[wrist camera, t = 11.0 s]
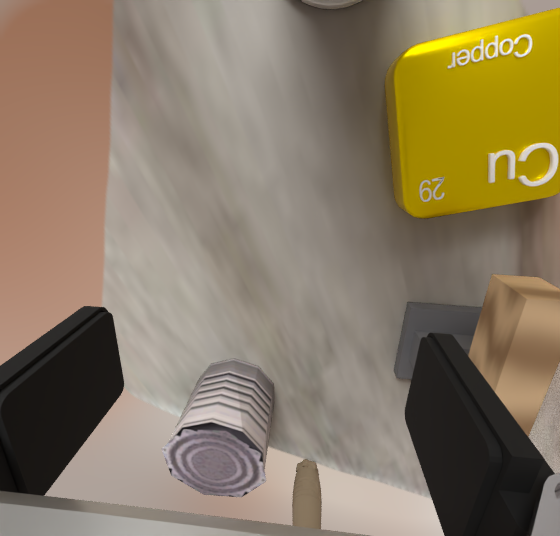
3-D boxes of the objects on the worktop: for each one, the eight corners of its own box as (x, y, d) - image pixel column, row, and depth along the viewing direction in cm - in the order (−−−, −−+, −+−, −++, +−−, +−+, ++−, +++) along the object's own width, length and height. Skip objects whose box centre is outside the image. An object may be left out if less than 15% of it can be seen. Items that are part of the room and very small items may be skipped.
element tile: (554, 18, 29) (599, -5, 24) (543, 187, 34) (579, 194, 29) (381, 61, 31) (393, 47, 27) (395, 214, 36) (406, 224, 32)
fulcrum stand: (407, 302, 39) (430, 338, 32) (511, 309, 38) (560, 349, 31) (393, 370, 43) (411, 417, 35) (488, 378, 42) (527, 429, 34)
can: (292, 387, 45) (286, 467, 34) (247, 434, 49) (228, 519, 38) (223, 343, 44) (193, 411, 32) (183, 394, 47) (143, 472, 36)
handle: (330, 475, 50) (338, 601, 36) (290, 478, 51) (282, 602, 37) (325, 452, 49) (330, 575, 35) (283, 456, 50) (272, 577, 36)
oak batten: (492, 274, 29) (527, 299, 24) (539, 277, 29) (583, 303, 24) (435, 467, 37) (452, 513, 33) (471, 471, 37) (494, 518, 32)
